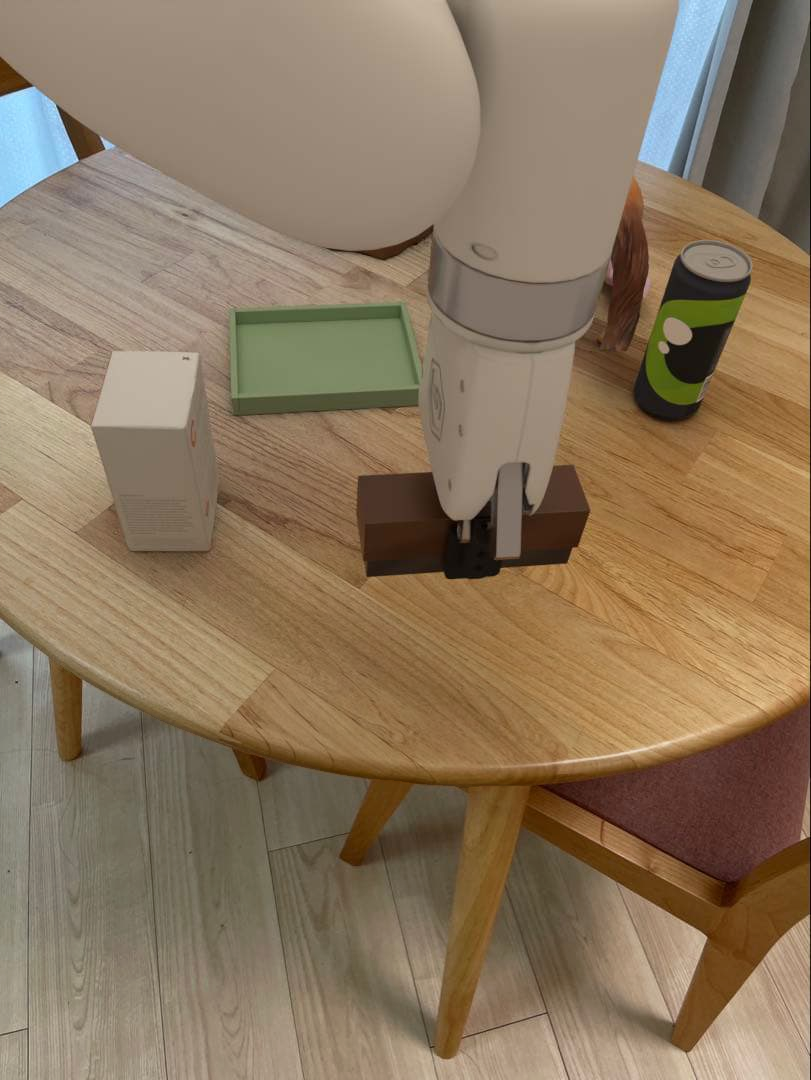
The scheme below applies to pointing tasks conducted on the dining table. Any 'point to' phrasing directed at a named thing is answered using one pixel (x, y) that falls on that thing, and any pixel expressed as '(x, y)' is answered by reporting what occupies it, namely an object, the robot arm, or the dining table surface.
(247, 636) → the dining table surface
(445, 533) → the brown wooden block
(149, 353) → the small box
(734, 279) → the beverage can
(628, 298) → the horse figurine
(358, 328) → the tray
